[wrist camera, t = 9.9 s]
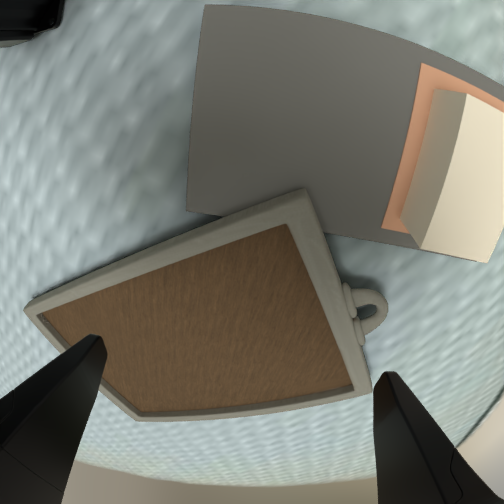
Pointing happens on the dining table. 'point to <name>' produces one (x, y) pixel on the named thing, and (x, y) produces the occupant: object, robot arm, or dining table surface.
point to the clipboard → (222, 319)
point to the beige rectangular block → (458, 179)
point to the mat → (314, 117)
